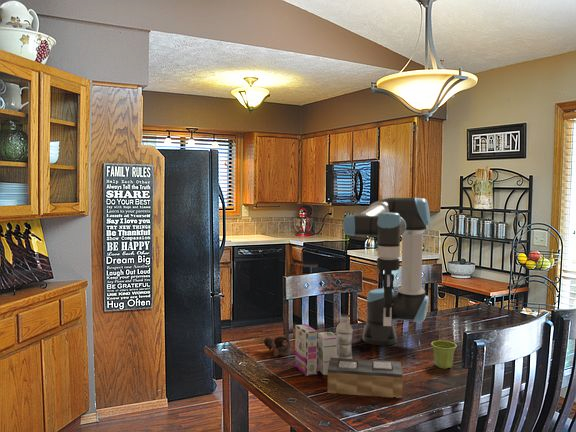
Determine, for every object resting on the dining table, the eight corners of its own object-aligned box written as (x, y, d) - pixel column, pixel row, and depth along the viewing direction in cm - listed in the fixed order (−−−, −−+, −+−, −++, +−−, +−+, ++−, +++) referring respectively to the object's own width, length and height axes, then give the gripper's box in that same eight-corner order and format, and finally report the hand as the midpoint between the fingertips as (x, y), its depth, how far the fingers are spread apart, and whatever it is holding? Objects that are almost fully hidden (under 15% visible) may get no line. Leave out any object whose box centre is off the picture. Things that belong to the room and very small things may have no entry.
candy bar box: (318, 374, 186) (318, 331, 185) (306, 376, 184) (306, 332, 183) (306, 364, 196) (306, 323, 195) (294, 366, 194) (294, 324, 193)
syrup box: (337, 373, 187) (337, 335, 186) (322, 375, 185) (322, 336, 184) (331, 368, 192) (332, 331, 191) (317, 370, 191) (317, 332, 190)
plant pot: (455, 371, 189) (456, 349, 189) (429, 368, 193) (430, 346, 192) (456, 363, 198) (457, 342, 198) (431, 360, 201) (432, 339, 201)
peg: (373, 382, 176) (373, 361, 176) (390, 383, 175) (390, 362, 175) (373, 389, 170) (373, 367, 170) (391, 390, 169) (391, 368, 169)
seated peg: (339, 381, 178) (339, 361, 178) (356, 382, 177) (356, 362, 177) (338, 388, 172) (338, 367, 172) (355, 389, 171) (356, 368, 171)
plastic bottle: (342, 371, 189) (342, 319, 188) (332, 365, 195) (332, 314, 194) (356, 368, 192) (356, 317, 191) (346, 363, 198) (346, 313, 197)
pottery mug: (292, 350, 214) (294, 337, 209) (285, 367, 206) (287, 353, 202) (266, 341, 217) (268, 328, 212) (258, 357, 209) (259, 343, 205)
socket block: (330, 379, 182) (330, 357, 181) (400, 383, 178) (400, 361, 177) (327, 392, 170) (327, 369, 169) (402, 398, 166) (402, 374, 165)
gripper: (377, 254, 179) (376, 319, 181) (377, 260, 166) (376, 330, 168) (398, 255, 178) (397, 320, 180) (400, 261, 165) (399, 331, 167)
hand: (387, 325), depth 174 cm, fingers closed
